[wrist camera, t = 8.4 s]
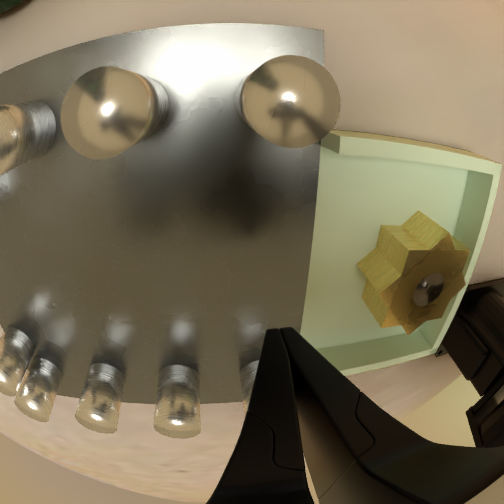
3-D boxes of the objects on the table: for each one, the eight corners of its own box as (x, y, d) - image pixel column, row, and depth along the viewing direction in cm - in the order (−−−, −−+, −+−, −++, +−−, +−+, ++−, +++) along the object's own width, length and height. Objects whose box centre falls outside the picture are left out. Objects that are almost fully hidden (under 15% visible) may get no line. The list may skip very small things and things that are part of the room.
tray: (470, 151, 12) (501, 164, 10) (418, 329, 17) (435, 353, 15) (316, 128, 11) (340, 136, 9) (293, 351, 16) (303, 383, 14)
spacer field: (318, 33, 9) (368, 7, 5) (287, 389, 18) (300, 440, 15) (-54, 107, 7) (-106, 123, 3) (44, 386, 16) (29, 429, 13)
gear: (455, 213, 13) (486, 234, 11) (424, 302, 15) (446, 328, 13) (369, 206, 12) (399, 230, 10) (343, 310, 15) (361, 344, 12)
